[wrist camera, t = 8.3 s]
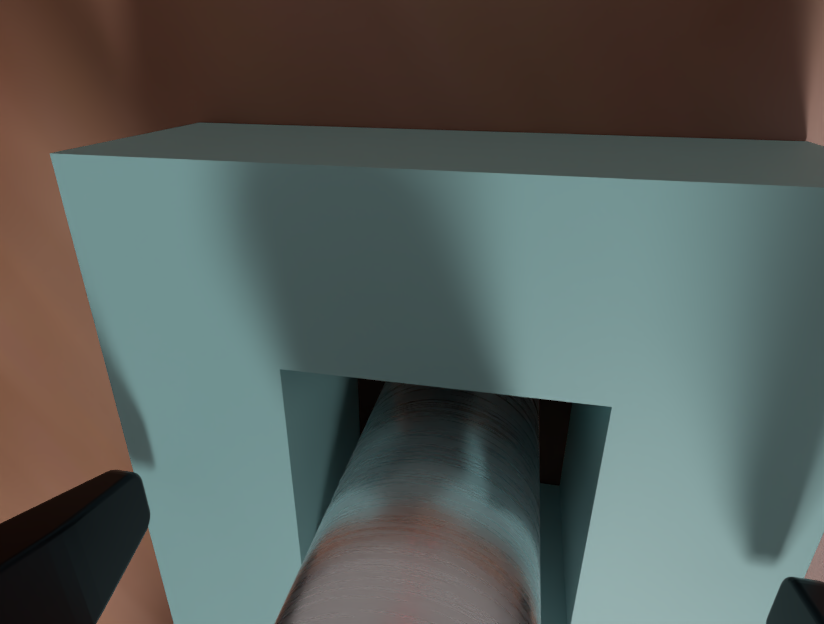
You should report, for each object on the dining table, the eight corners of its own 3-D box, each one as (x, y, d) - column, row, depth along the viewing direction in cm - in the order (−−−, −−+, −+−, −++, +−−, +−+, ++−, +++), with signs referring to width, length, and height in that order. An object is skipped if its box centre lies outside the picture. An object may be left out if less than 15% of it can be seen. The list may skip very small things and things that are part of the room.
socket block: (808, 141, 8) (971, 193, 5) (671, 598, 13) (716, 778, 9) (199, 122, 10) (49, 153, 7) (260, 529, 14) (183, 661, 11)
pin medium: (547, 329, 10) (570, 918, 3) (530, 455, 12) (522, 1074, 5) (391, 314, 11) (126, 793, 4) (392, 437, 12) (193, 968, 5)
